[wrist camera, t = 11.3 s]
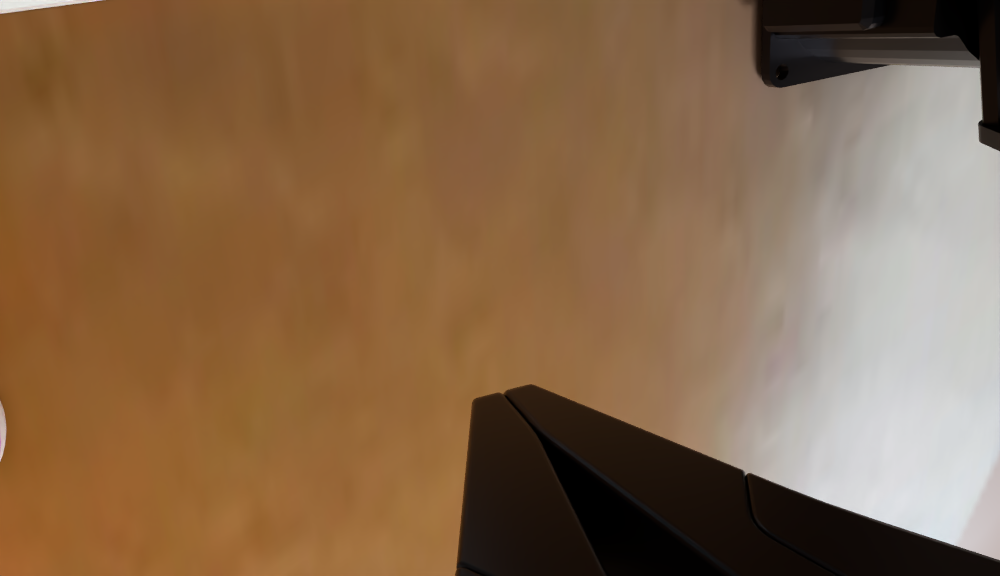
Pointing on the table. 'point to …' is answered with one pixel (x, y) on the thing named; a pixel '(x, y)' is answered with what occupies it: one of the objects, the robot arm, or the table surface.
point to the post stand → (34, 4)
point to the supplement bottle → (2, 430)
